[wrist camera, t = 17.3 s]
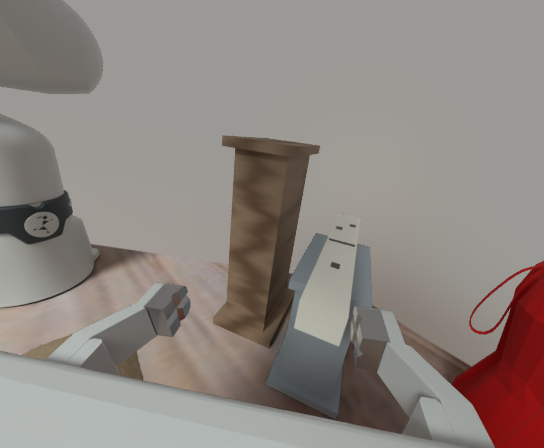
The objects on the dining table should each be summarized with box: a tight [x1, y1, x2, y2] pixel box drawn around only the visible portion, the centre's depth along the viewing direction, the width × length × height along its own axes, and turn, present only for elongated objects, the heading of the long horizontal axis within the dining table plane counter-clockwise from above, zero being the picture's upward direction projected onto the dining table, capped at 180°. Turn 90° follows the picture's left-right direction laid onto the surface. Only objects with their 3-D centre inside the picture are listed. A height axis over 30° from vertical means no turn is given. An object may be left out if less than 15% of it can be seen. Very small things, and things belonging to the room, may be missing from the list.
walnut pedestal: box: [213, 136, 320, 348], centre depth 32 cm, size 9×12×26 cm
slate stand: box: [266, 233, 372, 420], centre depth 27 cm, size 8×12×15 cm, turn 158°
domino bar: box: [294, 213, 360, 346], centre depth 23 cm, size 3×21×2 cm, turn 157°
